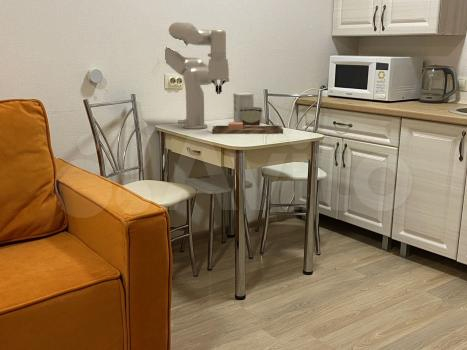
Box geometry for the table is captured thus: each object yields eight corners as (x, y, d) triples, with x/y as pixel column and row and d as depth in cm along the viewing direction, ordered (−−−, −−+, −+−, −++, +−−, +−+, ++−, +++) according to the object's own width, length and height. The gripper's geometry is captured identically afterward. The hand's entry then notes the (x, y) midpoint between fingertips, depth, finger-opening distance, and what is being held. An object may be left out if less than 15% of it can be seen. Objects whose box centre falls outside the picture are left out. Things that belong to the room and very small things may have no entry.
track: (212, 133, 255) (212, 129, 255) (213, 129, 267) (213, 125, 267) (283, 133, 255) (283, 129, 254) (280, 129, 267) (281, 125, 267)
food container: (262, 125, 283) (263, 107, 281) (262, 126, 277) (262, 108, 275) (240, 124, 284) (240, 106, 282) (239, 126, 278) (239, 108, 276)
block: (228, 133, 258) (228, 124, 257) (229, 130, 265) (229, 122, 264) (242, 133, 258) (242, 124, 257) (242, 131, 264) (242, 122, 263)
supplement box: (249, 122, 295) (249, 92, 291) (254, 124, 286) (254, 93, 282) (233, 122, 293) (233, 92, 289) (237, 125, 284) (237, 94, 280)
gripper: (202, 56, 249) (203, 94, 253) (233, 56, 249) (233, 94, 253) (203, 56, 256) (204, 93, 260) (233, 55, 256) (233, 93, 260)
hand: (218, 93), depth 257 cm, fingers closed
